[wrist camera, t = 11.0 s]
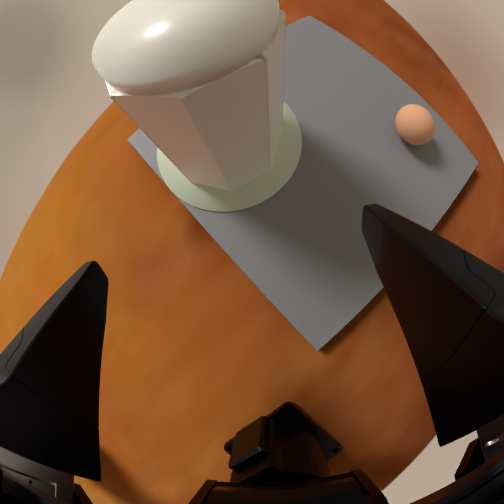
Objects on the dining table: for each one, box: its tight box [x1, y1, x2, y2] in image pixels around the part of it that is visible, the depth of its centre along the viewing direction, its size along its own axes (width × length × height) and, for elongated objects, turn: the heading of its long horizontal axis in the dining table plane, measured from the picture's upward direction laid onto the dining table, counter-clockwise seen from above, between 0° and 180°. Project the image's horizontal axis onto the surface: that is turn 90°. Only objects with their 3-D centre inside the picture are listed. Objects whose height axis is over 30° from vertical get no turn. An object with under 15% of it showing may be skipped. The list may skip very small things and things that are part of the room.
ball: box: [395, 104, 435, 145], centre depth 15 cm, size 3×3×3 cm
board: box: [128, 16, 478, 351], centre depth 18 cm, size 20×20×1 cm
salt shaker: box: [92, 0, 286, 191], centre depth 12 cm, size 7×7×11 cm
